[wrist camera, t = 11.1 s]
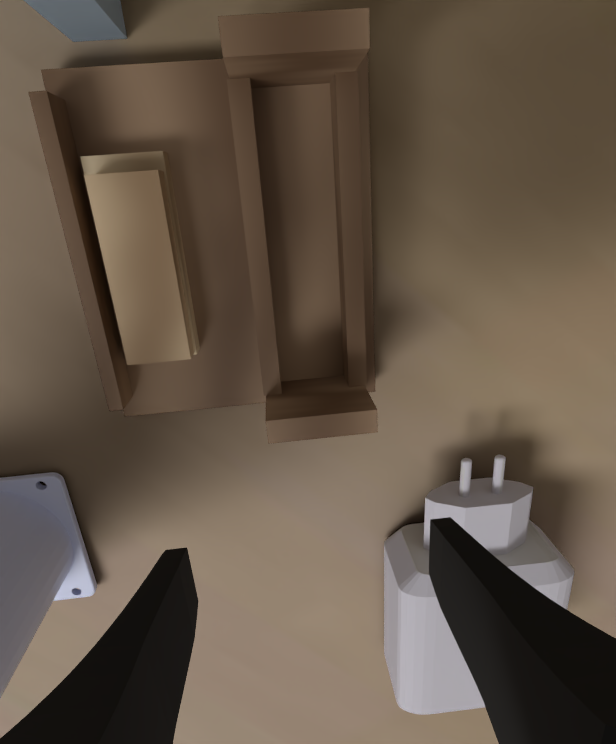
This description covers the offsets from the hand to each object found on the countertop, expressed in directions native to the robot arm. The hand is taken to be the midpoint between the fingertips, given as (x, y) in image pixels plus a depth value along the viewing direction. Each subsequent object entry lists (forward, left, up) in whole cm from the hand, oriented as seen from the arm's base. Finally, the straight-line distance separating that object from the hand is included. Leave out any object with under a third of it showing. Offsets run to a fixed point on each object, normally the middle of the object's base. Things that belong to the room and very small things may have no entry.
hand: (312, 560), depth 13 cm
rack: (-2, +8, -10) cm, 13 cm away
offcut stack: (-6, +8, -9) cm, 14 cm away
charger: (+9, -10, -11) cm, 17 cm away
